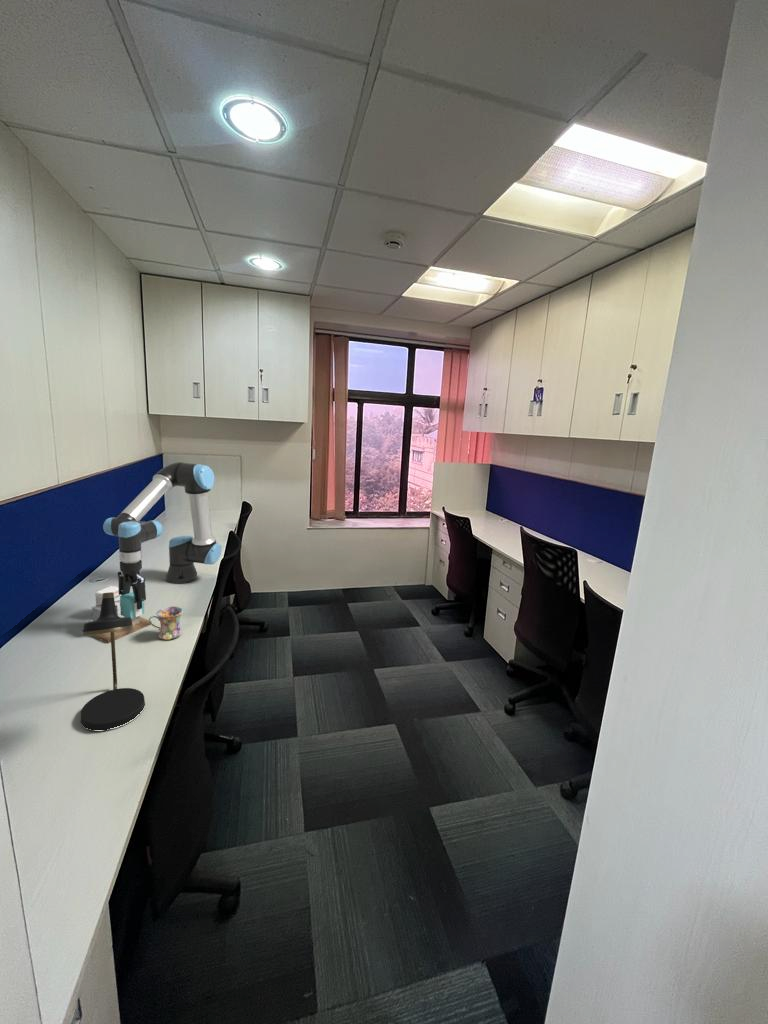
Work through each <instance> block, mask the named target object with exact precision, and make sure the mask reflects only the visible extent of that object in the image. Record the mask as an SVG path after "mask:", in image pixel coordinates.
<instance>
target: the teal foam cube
mask: <svg viewBox="0 0 768 1024" xmlns="http://www.w3.org/2000/svg"><path fill="white" fill-rule="evenodd" d="M134 602H135V597H134V593H133V591H130V593H128V594H125V595H121V596H120V609H121V613H120V616H122V617H130V618H131V619H132V618H134V617H135V613H134ZM144 614H145V600H144V601H142V615H144Z"/></svg>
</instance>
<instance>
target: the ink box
mask: <svg viewBox="0 0 768 1024" xmlns="http://www.w3.org/2000/svg"><path fill="white" fill-rule="evenodd" d="M109 592H113V593H114V600H115V605H117V609H118V615H119V614H121V609H120V596H122V595H119V586H114V585H110V586H108V587H105V588H102V589H100V590H98V591H96V592H95V593H94V594H95V606H97V605H100V604H102V596H103V593H109Z"/></svg>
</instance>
